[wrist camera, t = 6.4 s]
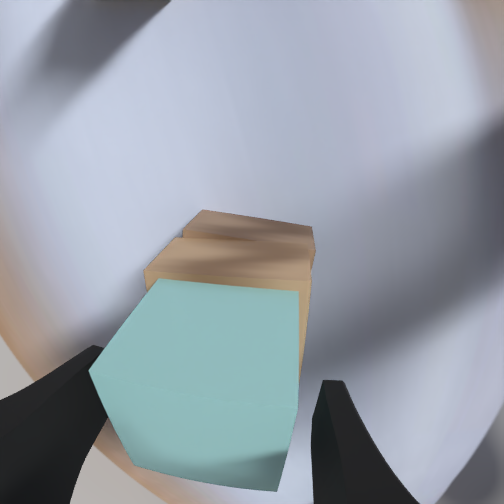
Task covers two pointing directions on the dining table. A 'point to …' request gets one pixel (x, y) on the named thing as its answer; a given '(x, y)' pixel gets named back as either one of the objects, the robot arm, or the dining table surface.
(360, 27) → the dining table surface
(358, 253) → the dining table surface
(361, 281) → the dining table surface
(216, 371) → the cube
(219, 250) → the slab upper
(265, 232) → the brown wooden block
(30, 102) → the dining table surface
